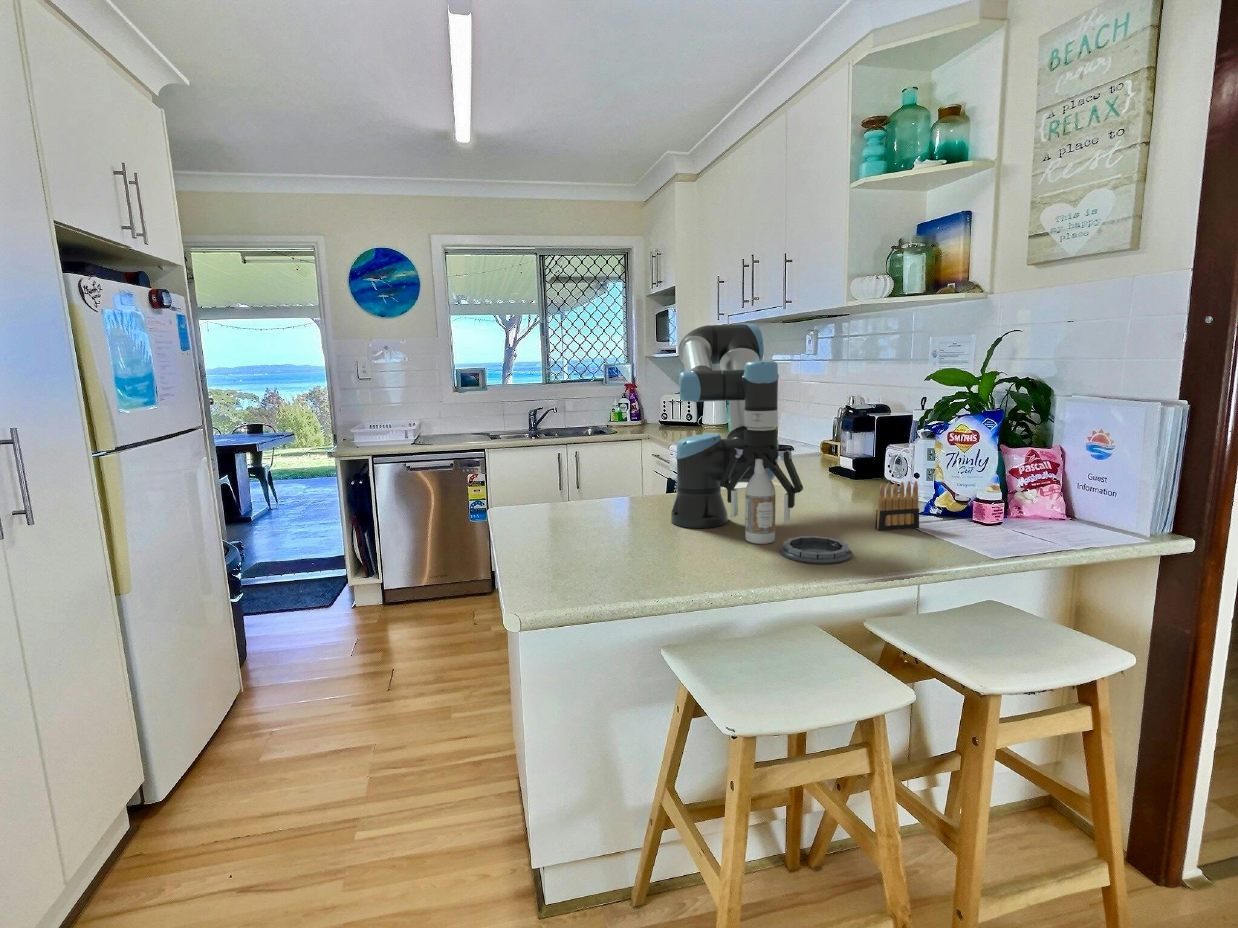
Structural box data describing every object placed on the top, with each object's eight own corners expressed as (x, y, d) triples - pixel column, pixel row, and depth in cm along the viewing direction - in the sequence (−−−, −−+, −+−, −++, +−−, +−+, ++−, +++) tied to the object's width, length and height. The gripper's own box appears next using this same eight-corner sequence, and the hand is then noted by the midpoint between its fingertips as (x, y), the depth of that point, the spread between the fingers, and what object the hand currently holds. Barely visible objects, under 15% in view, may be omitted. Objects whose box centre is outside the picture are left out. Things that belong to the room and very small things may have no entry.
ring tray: (772, 558, 135) (772, 550, 135) (790, 540, 148) (790, 532, 148) (845, 568, 128) (845, 558, 127) (856, 548, 141) (856, 539, 140)
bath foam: (751, 545, 145) (751, 461, 142) (741, 537, 152) (741, 456, 149) (779, 543, 146) (780, 459, 143) (768, 535, 153) (769, 455, 149)
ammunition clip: (878, 531, 154) (880, 483, 152) (874, 529, 155) (876, 482, 153) (919, 528, 155) (921, 481, 153) (914, 526, 157) (917, 479, 155)
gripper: (705, 428, 147) (706, 517, 151) (810, 431, 135) (808, 527, 139) (716, 425, 154) (717, 510, 157) (817, 427, 142) (815, 519, 145)
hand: (760, 518), depth 148 cm, fingers open, 12 cm apart
